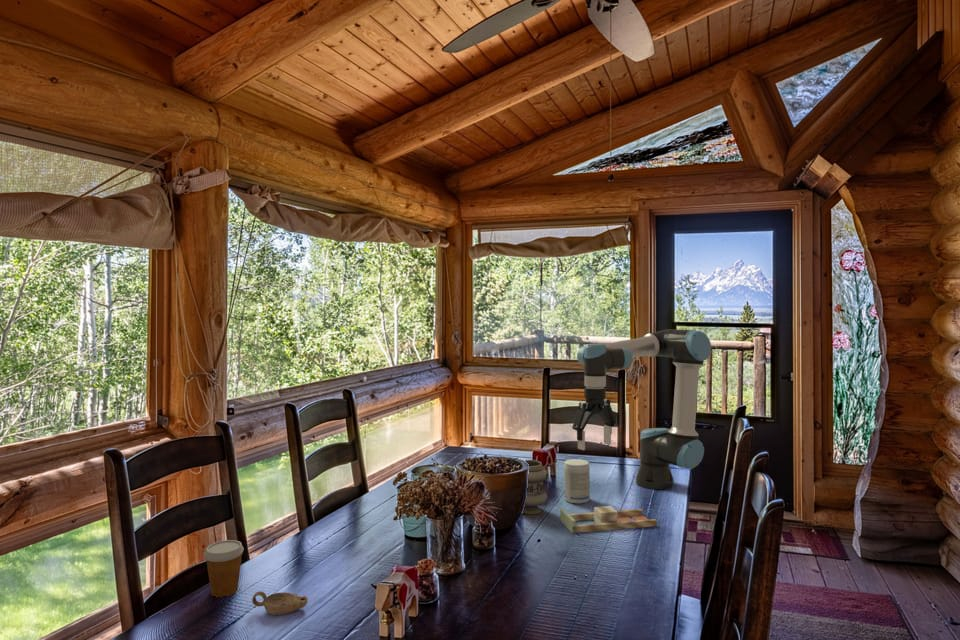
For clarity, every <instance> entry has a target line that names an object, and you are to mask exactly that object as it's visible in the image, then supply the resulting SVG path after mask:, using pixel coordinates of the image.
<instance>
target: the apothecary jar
mask: <svg viewBox="0 0 960 640" xmlns="http://www.w3.org/2000/svg"><path fill="white" fill-rule="evenodd" d="M525 461H526V462H527V463H528V464H529V468H530V470H529V474H528V488H527V497H526V501H525V507H524V510H523V513H522V515H521V516H525V517H529V518H530V517H531V518H532V517H533V518H535V517H540V516H542V515H544V514H545V510H544V509H543V508H541V507H539V506H541V505H543V504H545V503H546V502H547V500H548V494H547V492H546V491H545V489H544V485H545V484H544V481H545V479H546V478H547V471H546V469H545V468H544V467H543V462H541V461H539V460H537V459H525Z"/></svg>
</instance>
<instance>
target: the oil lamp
mask: <svg viewBox="0 0 960 640" xmlns="http://www.w3.org/2000/svg"><path fill="white" fill-rule="evenodd" d="M257 596H259V597H260V596H261V598H262V599H263V601H261V602H260V601H258V600H257V599H256V598H257ZM308 601H309V598H308V597H307V596H306V595H304V596H299V595H298V594H296V593H295V594H293V593H290V592H276V593H273V594H269V595H268V596H267V594H266V593H265V592H264V591H260V590H259V591H256V592H255V593H254V594H253V596H252V598H251V602H252V604H253V605H254V606H255V607H264V609H265V611H266V613H267V614H269V615H273V616H280V615H287V614H289V613H293V612H295V611H298V610H301V609H303V608H304V607H306V605H307V604H308Z"/></svg>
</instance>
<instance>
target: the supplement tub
mask: <svg viewBox="0 0 960 640" xmlns="http://www.w3.org/2000/svg"><path fill="white" fill-rule="evenodd" d="M563 465H564V467H563V473H564V474H563V475H564V476H563V480H564V485H563V487H564V488H563V489H564V500H565V501H567V503H568V502H569V503H570V504H571V503H572V504H577V505H579V504H584V503H585V504H586V503H588V502H589V501H590V499H591V496H590V493H591V490H590V489H591V488H590V487H591V486H590V485H591V484H590V479H591V478H590V463H589V461H588V460H585V459H580V458H579V459H577V458H576V459H573V458H572V459H571V458H570V459H567V460H565V461H564V464H563Z"/></svg>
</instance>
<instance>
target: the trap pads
mask: <svg viewBox="0 0 960 640" xmlns="http://www.w3.org/2000/svg"><path fill="white" fill-rule="evenodd" d="M632 519H633V520H632ZM636 520H649V519H648V517H646V516H645V515H644V514H643V515H638V516H630V517H627V516H625V517H617V522H623V521H636Z"/></svg>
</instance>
